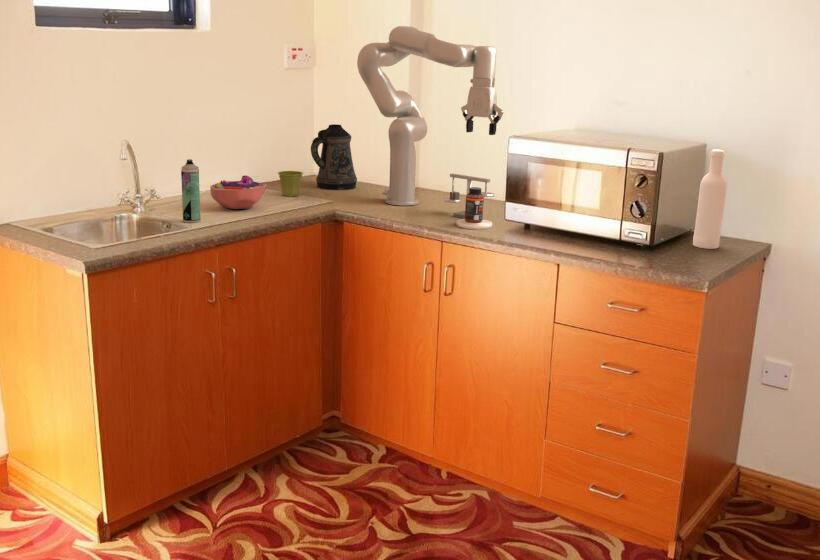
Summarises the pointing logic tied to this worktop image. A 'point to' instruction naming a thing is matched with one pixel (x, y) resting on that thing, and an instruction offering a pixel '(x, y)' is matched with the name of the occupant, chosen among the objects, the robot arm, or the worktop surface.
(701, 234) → the bottle
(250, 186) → the cell model
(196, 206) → the spray can
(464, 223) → the dish
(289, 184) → the plant pot
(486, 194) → the balance
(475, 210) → the supplement bottle
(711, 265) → the worktop surface
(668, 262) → the worktop surface
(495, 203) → the worktop surface
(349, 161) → the beer stein
